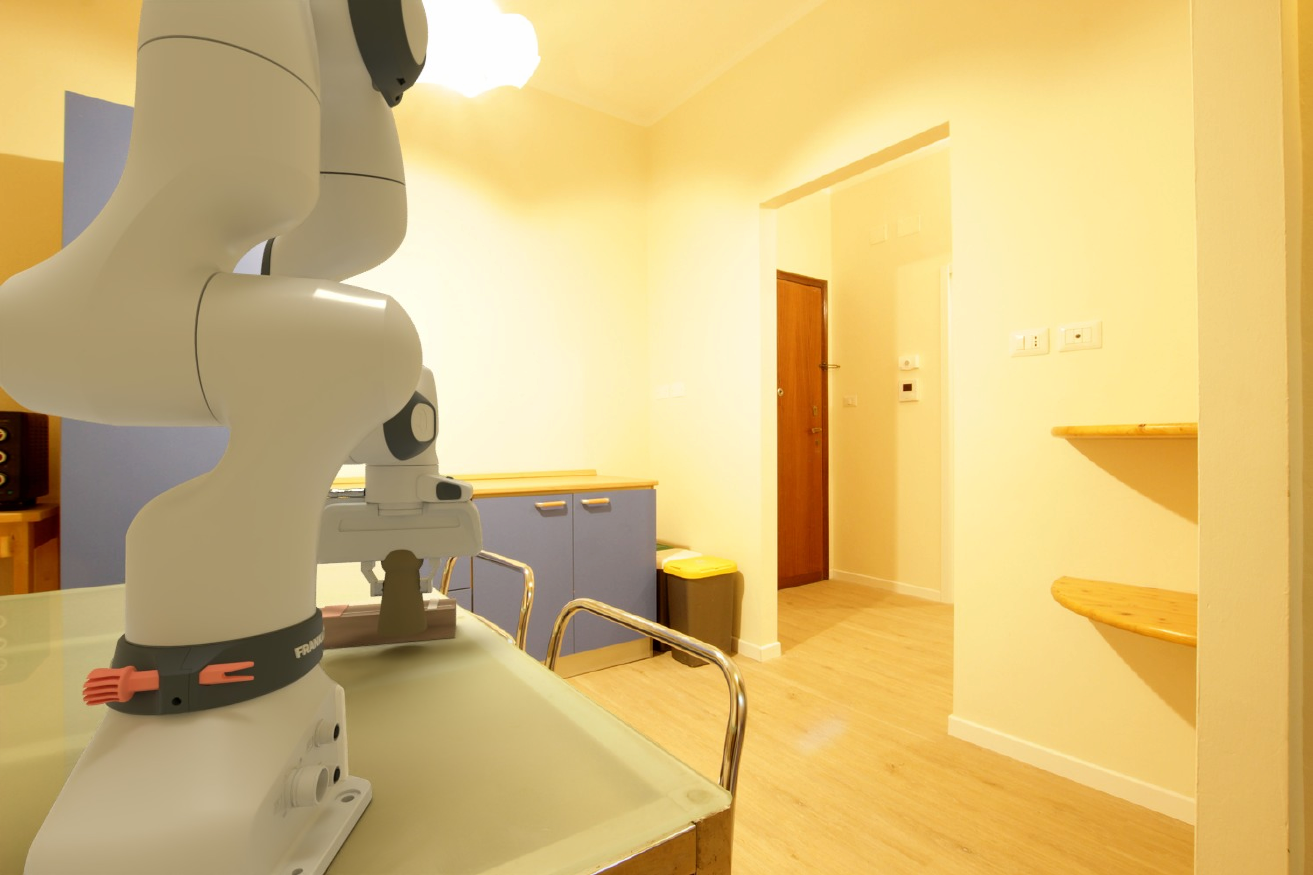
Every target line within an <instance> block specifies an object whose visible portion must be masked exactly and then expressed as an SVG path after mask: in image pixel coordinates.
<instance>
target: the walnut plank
mask: <svg viewBox="0 0 1313 875" xmlns="http://www.w3.org/2000/svg"><path fill="white" fill-rule="evenodd" d="M423 602H424V609H425V617H426V624H427V629H426V630H425V631H423V632H421V633H418V634H415V635H411V636H405V637H392V638H391V637H382V636H379V635H377V628H378V621H379V614H380V607H381V603H371V604H369V603H368V604H359V605H356V604H355V605H350V604H337V605H326V606H324V607H318V608H319V609H320V610H321V611H322V619H323V625H324V630H325V637H324V640H323V650H327V649H338V648H340V649H341V648H348V647H349V648H351V647H361V646H373V645H383V644H384V645H385V644H395V643H406V642H407V643H408V642H417V641H418V642H419V641H429V640H430V641H431V640H441V639H450V638H452V639H453V638H456V632H457V631H456V630H457V597H455V598H441V599H440V598H439V597H437V598H435V597H434V598H430V599H429V600H428V599H426V600H424V599H423Z"/></svg>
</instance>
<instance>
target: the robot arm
mask: <svg viewBox="0 0 1313 875" xmlns="http://www.w3.org/2000/svg"><path fill="white" fill-rule="evenodd" d="M139 18H140V19H139V22H138V31H137V32H138V33H137V47H136V48H137V49H136V69H135V70H136V71H135V72H136V74H135V90H134V91H135V93H134V104H133V117H132V124H131V131H130V132H131V133H130V140H129V146H128V147H129V148H128V154H127V158H126V161H125V165H124V167H123V168H124V169H123V172H122V174H121V177H120V179H119V182H118V184H117V186H116V187H115V189H114V191H113V193H112V194H111V196H110V198H109V200H108V201H107V202H106V204H104V206H103V208H102V209H101V210H100V212H99V213H98V214H97V215H96V217H95V218H94V219H93V220H92V221H91V223H90V224H89V225H87V227H86V228H85V229H84V230H83V231H82V232H81V233H80V234H79V235H78V236H77V237H76V238H75V239H73V240H72V241H71V242H69V243H68V244H67V245H66V246H64V248H62V249H60V250H59V251H57V252H56V253H55V254H53V255H52V256H50V257H49V258H47V259H45V260H43V261H41V262H39V263H37V264H35V265H33V266H32V267H30V268H27V269H25V270H23V271H20V272H18V273H15V274H14V275H11V276H10V277H8V279H6V280H5V281H4V282H3V283H2V284H1V285H0V388H1V389H2V390H3V391H4V392H5V394H7V395H8V396H9V397H10V398H11V399H12V400H14V402H16V403H17V404H18V405H20V406H21V407H23V408H25V409H27V410H29V411H32V412H33V413H39V414H43V415H48V416H54V417H58V418H59V417H60V418H64V419H65V418H66V419H70V420H75V421H80V422H87V423H88V422H89V423H95V424H102V425H107V426H114V427H173V428H174V427H181V428H182V427H184V428H185V427H187V428H188V427H190V428H192V427H196V428H198V427H201V428H203V427H205V428H213V427H216V428H219V427H220V428H227V429H229V439H228V442H227V446H226V449H225V451H224V453H223V454H222V457H221V458H220V460H219V461H218V463H217V464H216V465H215V466H214V467H213V469H211V470H210V471H208V472H205V473H203V474H201V475H198V476H196V477H194V478H193V477H192V478H191V479H188V480H186V481H184V482H181V483H179V484H178V485H176V486H174V487H172V488H168V490H166V491H164V492H162V493H160V494H158V495H157V496H155V497H154V498H152V499H151V500H149V501H148V502H147V503H146V504H145V505H144V506H143V507H141V509H139V511H138V512H137V514H136V515H135V516H134V518H133V519H132V521H131V523H130V524H129V527H128V529H127V530H126V531H127V532H126V534H125V561H124V562H125V565H124V566H125V567H124V568H125V572H124V573H125V574H124V575H125V576H124V577H125V578H124V580H125V581H124V582H125V584H124V585H125V586H124V591H125V592H124V633H123V634H122V635H121V636H120V637H119V638H118V639H117V642H116V645H115V649H114V650H115V651H114V654H113V658H112V659H111V661H110V663H109V666H108V667H103V668H102V667H100V668H95V669H92V670H91V671H90V672H89V673H88V675H87V677H86V678H85V679H86V681H85V682H83V683H84V684H83V686H82V689H83V690H82V694H81V695H82V696H83V698H82V701H83V702H84V703H85V702H86V703H85V705H87V706H88V707H89V706H91V707H92V706H99V705H104V704H105V705H106V706H107V707H108V708H107V709H106V712H105V714H104V717H103V718H102V720H101V721H100V724H99V725H98V727H97V729H96V730H95V732H94V734H93V736H92V737H91V739H90V740H89V741H88V743H87V744H86V747H85V748H84V750H83V752H82V753H81V755H80V757H79V758H78V760H77V762H76V764H75V766H74V767H73V769H72V771H71V773H70V775H69V776H68V778H67V780H66V782H65V784H64V785H63V787H62V789H61V790H60V791H59V794H58V796H57V797H56V799H55V801H54V803H53V804H52V806H51V808H50V809H49V812H48V814H47V815H46V817H45V819H44V820H43V822H42V824H41V826H40V828H39V830H38V831H37V833H36V835H35V837H34V839H33V841H32V843H31V844H30V847H29V849H28V852H27V855H26V859H25V864H24V868H23V874H22V875H324V873H325V872H326V870H327V868H328V867H329V866H330V864H331V862H332V861H333V860H334V858H335V857H336V855H337V853H338V852H339V850H340V849H341V847H342V846H343V844H344V843H345V841H346V839H347V838H348V837H349V835H350V833H351V831H352V830H353V829H354V827H355V826H356V824H357V822H358V821H359V819H360V817H361V816H362V815H363V813H364V811H365V810H366V809H367V807H368V806H369V804H370V802H371V800H372V798H373V788H372V784H371V782H370V780H368V779H367V778H363V777H359V776H355V775H351V774H349V757H348V756H349V755H348V753H349V752H348V733H347V732H348V731H347V730H348V729H347V716H346V715H347V712H346V693H345V689H344V687H343V686H341V685H340V684H339V683H338V682H336V681H335V680H334V679H332V678H331V677H330V676H329V675H328V673H327V672H326V671H325V670H324V668H323V666H322V665H321V663H320V662H321V660H322V658H324V657H323V656H324V649H323V640H324V637H325V630H324V625H323V619H322V611H321V610H320V609H319V608H320V607H317V580H318V577H317V576H318V573H317V572H318V563H319V564H321V565H325V564H327V565H328V564H345V563H347V564H349V563H360V572H361V574H362V575H363V577H364V578H365V579H366V581H367V582H368V584H369V585H370V586H369V587H370V588H369V589H370V590H369V591H370V593H369V594H370V597H371V598H375V597H382V595H383V586H384V579H381V580H380V579H378V577H377V576H376V574H375V572H374V571H373V569H375V567H376V562H381V561H383V560H385V558H386V556H387V555H388V554H389V553H390V552H391V551H394V550H401V549H403V550H409V551H412V552H413V554H414V555H415V556H416V558H418V559H424V560H427V559H429V561H428V566H429V568H430V567H431V568H432V569H431V570H430V572H429V574H428V575H427V576H426V577H420V587H421V588H420V593H422V594H432V593H433V588H434V585H433V580H434V578H435V576H436V575H437V573H438V571H439V570H440V568H441V567H442V559H447V558H464V557H465V558H467V557H477V556H478V555H479V554H480V553H481V552H482V551H483V549H484V548H483V547H484V543H483V542H484V540H483V539H484V538H483V528H482V523H481V516H480V512H479V508H478V507H477V505H476V503H474V502H473V501H472V500H471V499H472V497H473V496H474V486H473V485H472V484H471V483H470V482H468V481H464V480H462V479H461V480H460V479H457V478H454V477H453V476H449V475H443V474H440V472H439V471H440V470H439V468H440V467H439V458H438V456H437V454H438V453H437V450H436V446H437V445H436V444H437V438H438V436H439V433H440V432H439V431H440V429H439V428H440V427H439V426H440V422H439V418H440V417H439V405H438V404H439V402H438V401H439V400H438V394H437V386H436V381H435V376H434V374H433V371H432V370H431V369H430V368H428V367H427V366H425V365H424V364H423V357H424V356H423V349H422V343H421V339H420V336H419V333H418V330H417V328H416V325H415V324H414V322H413V320H412V318H411V317H410V315H409V314H408V313H407V310H405V309H404V307H403V306H402V305H401V304H400V303H399V302H398V301H397V300H396V299H395V298H394V297H393V296H391V295H390V294H386V293H382V292H379V291H375V290H371V289H368V288H363V287H360V286H357V285H351V284H348V283H343V281H345V280H348V279H351V278H353V277H355V276H358V275H360V274H363V273H367V272H368V271H371V270H373V269H375V268H377V267H379V266H380V265H381V264H383V263H385V262H386V261H388V260H389V259H390V258H391V257H392V256H393V255H395V253H396V252H397V251H398V249H399V248H400V247H401V245H402V244H403V242H404V241H405V240H404V239H405V238H406V235H407V229H408V228H407V227H408V198H407V188H406V186H407V185H406V176H405V167H404V166H405V165H404V158H403V154H402V147H401V143H400V137H399V133H398V129H397V124H396V121H395V116H394V113H393V110H392V109H393V108H395V107H397V106H398V105H399V104H400V103H401V102H402V99H403V96H404V92H406V91H408V90H410V88H412V87H413V86H414V85H415V83H417V82H416V81H417V80H418V79H419V77H420V75H421V74H422V72H423V71H424V70H423V69H424V68H425V65H426V62H427V50H428V49H427V48H428V44H429V27H428V26H429V24H428V18H427V13H426V9H425V6H424V2H423V0H142V4H141V10H140V17H139ZM264 242H265V246H264V249H263V253H262V257H261V258H262V259H261V267H260V274H253V273H238V272H237V273H236V272H234V270H235V268H236V267H237V265H238V264H239V262H240V261H241V260H242V259H243V258H244V256H245V255H247V253H249V252H250V251H251V250H252V249H253V248H256V246H258V245H260V244H261V243H264ZM344 465H347V466H348V465H351V466H352V465H356V466H357V465H365V469H364V470H365V471H364V472H365V474H364V476H365V477H364V478H365V480H364V485H365V486H364V487H363V488H361V487H360V488H357V487H356V488H353V487H352V488H345V489H344V488H343V489H339V488H332V486H333V484H334V481H335V480H336V477H337V476H338V474H339V472H340V470H341V469H342V467H343V466H344Z"/></svg>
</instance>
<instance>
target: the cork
mask: <svg viewBox="0 0 1313 875" xmlns="http://www.w3.org/2000/svg"><path fill="white" fill-rule="evenodd" d="M424 560H425V559H418V558H416V556H415V555H414V554H413V552H412V551H409V550H403V549H401V550H394V551H391V552H390V553H389V554H388V555H387V556H386V558H385V560H383V561H380V565H381V569H382V570H383V571H384V578H383V580H384V586H383V595H382V596H381V601H380V604H381V607H380V614H379V621H378V628H377V635H379V636H382V637H391V638H392V637H405V636H411V635H415V634H418V633H421V632H423V631H425V630H426V629H427V624H426V617H425V609H424V602H423V601H424V595H423V593H420V588H421V587H420V580H421V575H420V574H421V573H420V569H421V568H422V567H423V565H424Z"/></svg>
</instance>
